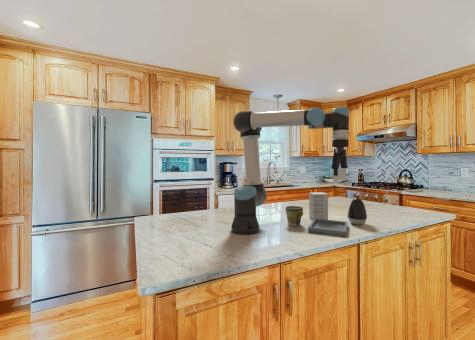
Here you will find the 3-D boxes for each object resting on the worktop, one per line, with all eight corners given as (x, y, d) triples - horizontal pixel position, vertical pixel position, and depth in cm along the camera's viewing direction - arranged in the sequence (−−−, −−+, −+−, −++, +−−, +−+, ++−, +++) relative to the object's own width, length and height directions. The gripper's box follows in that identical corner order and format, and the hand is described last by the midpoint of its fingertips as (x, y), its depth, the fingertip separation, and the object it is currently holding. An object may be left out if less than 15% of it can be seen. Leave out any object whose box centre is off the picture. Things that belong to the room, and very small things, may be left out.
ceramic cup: (282, 223, 144) (282, 206, 144) (295, 221, 148) (295, 205, 148) (295, 228, 133) (295, 210, 132) (310, 226, 137) (310, 209, 136)
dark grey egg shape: (367, 222, 144) (367, 197, 144) (366, 226, 135) (366, 199, 135) (349, 220, 150) (349, 196, 149) (346, 224, 141) (346, 198, 140)
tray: (308, 232, 126) (308, 227, 126) (314, 222, 145) (314, 218, 145) (345, 236, 118) (345, 231, 118) (347, 226, 137) (347, 221, 137)
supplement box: (328, 221, 148) (328, 194, 148) (313, 221, 148) (313, 194, 148) (323, 217, 158) (323, 192, 157) (308, 217, 158) (308, 192, 157)
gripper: (342, 136, 109) (341, 183, 110) (353, 140, 129) (353, 180, 130) (325, 137, 114) (324, 183, 114) (339, 141, 134) (338, 179, 134)
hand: (339, 181), depth 122 cm, fingers open, 13 cm apart
